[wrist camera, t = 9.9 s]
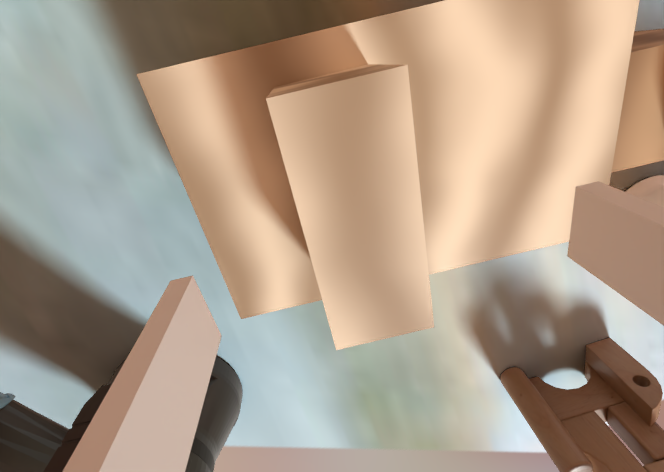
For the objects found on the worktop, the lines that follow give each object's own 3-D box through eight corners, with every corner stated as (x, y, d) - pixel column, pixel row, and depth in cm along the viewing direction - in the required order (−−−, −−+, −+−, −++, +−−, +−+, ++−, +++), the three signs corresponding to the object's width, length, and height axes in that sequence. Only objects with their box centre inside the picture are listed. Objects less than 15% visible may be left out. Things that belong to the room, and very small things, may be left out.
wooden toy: (611, 334, 46) (912, 589, 24) (609, 368, 49) (874, 623, 27) (497, 370, 47) (684, 649, 24) (502, 401, 50) (672, 675, 28)
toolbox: (256, 243, 35) (241, 319, 25) (194, 70, 28) (136, 74, 17) (588, 164, 35) (712, 207, 24) (613, -31, 28) (805, -87, 17)
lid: (243, 305, 26) (223, 406, 18) (147, 73, 19) (48, 80, 11) (585, 224, 26) (707, 291, 18) (621, -41, 19) (847, -112, 11)
